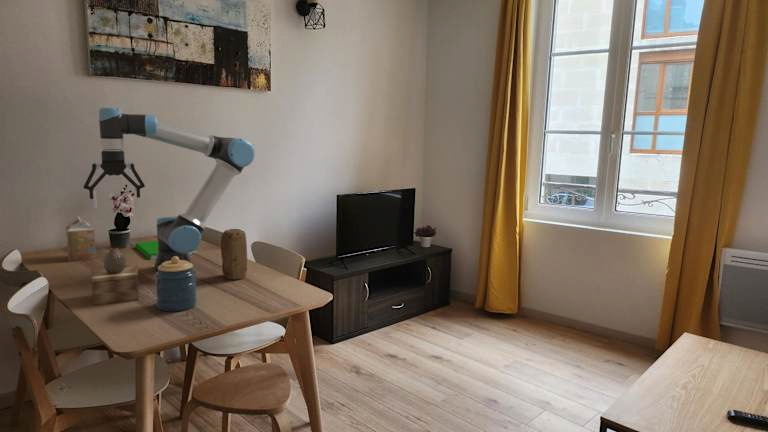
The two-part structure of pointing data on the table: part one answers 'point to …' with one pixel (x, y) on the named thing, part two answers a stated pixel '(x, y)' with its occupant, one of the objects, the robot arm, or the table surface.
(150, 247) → the book
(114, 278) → the lid
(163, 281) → the canister
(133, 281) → the keepsake box
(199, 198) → the robot arm
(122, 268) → the vase
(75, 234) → the tan lidded jar
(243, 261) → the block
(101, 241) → the table surface
